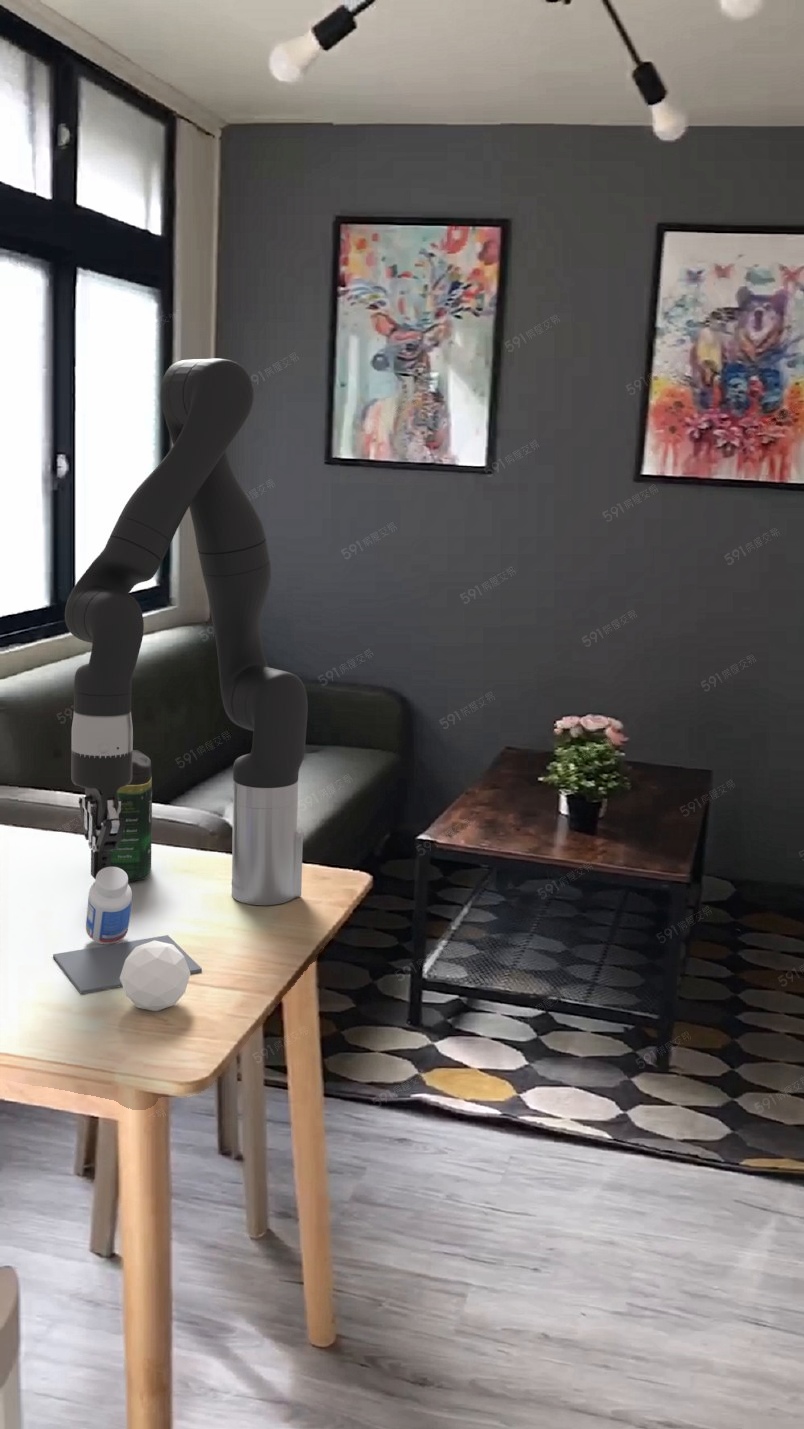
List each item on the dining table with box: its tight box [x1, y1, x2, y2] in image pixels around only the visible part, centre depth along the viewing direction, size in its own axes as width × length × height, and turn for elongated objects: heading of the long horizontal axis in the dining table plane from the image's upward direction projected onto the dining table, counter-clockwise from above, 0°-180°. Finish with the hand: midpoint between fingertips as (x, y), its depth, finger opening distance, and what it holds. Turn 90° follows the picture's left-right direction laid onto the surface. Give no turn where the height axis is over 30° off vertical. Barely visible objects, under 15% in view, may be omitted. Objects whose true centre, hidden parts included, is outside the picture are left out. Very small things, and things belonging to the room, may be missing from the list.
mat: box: [52, 934, 203, 995], centre depth 156 cm, size 15×12×1 cm
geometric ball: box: [120, 940, 191, 1012], centre depth 144 cm, size 8×8×8 cm
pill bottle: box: [85, 867, 133, 945], centre depth 161 cm, size 6×5×10 cm
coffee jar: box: [111, 749, 153, 883], centre depth 187 cm, size 10×8×19 cm
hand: (100, 877), depth 162 cm, fingers closed
